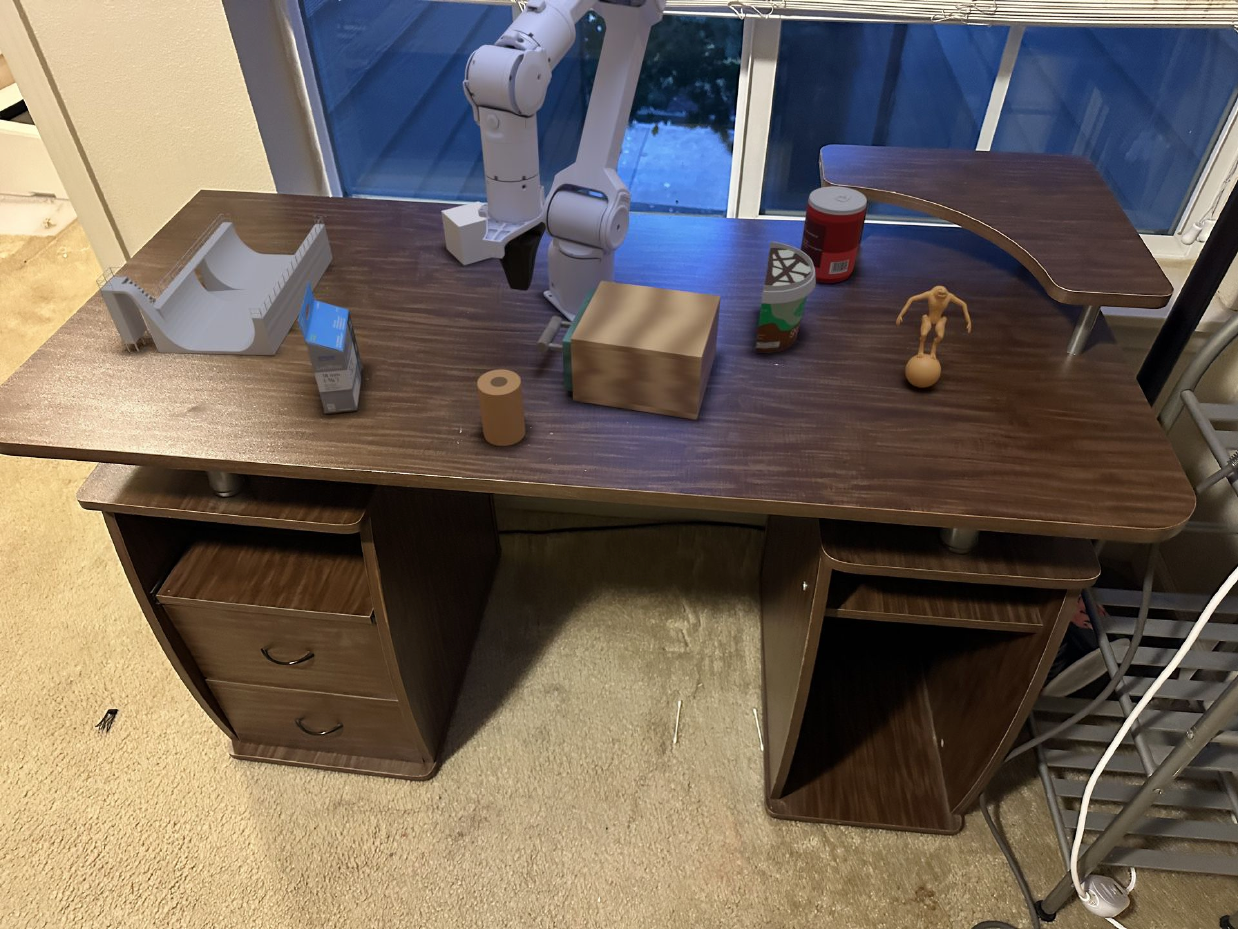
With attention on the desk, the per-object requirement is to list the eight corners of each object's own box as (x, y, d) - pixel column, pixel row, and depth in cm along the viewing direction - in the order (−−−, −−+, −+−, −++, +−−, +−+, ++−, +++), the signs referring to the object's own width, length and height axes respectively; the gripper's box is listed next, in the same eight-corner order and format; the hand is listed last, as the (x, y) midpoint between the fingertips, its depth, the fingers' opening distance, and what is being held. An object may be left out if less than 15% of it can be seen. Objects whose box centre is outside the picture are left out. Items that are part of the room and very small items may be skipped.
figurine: (883, 389, 101) (906, 301, 93) (882, 361, 106) (904, 274, 98) (956, 398, 100) (986, 309, 92) (952, 369, 104) (979, 281, 96)
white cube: (501, 254, 126) (497, 216, 122) (464, 265, 123) (459, 226, 119) (482, 238, 130) (478, 201, 126) (446, 248, 127) (441, 210, 123)
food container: (804, 365, 105) (816, 293, 98) (753, 359, 106) (763, 287, 99) (807, 313, 114) (819, 244, 107) (761, 308, 115) (770, 239, 108)
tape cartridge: (359, 412, 98) (335, 319, 89) (323, 415, 97) (297, 322, 89) (364, 367, 104) (342, 277, 96) (331, 370, 104) (306, 280, 96)
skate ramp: (274, 355, 106) (251, 284, 99) (127, 351, 107) (94, 281, 100) (332, 258, 125) (317, 193, 118) (207, 255, 125) (184, 190, 119)
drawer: (529, 384, 100) (525, 335, 96) (559, 331, 109) (556, 283, 104) (678, 407, 97) (681, 357, 92) (696, 350, 106) (700, 302, 101)
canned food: (860, 266, 123) (875, 193, 116) (839, 290, 118) (854, 215, 111) (810, 252, 126) (822, 181, 119) (788, 275, 121) (799, 201, 114)
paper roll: (477, 428, 95) (470, 377, 91) (514, 415, 97) (509, 364, 93) (494, 451, 93) (488, 399, 88) (532, 437, 94) (528, 386, 90)
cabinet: (572, 400, 99) (570, 338, 94) (601, 340, 109) (601, 280, 103) (696, 420, 97) (701, 357, 91) (715, 356, 106) (720, 295, 100)
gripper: (499, 142, 95) (508, 254, 104) (449, 194, 85) (464, 313, 94) (560, 149, 94) (564, 261, 103) (516, 202, 84) (525, 322, 92)
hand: (520, 287), depth 98 cm, fingers closed
